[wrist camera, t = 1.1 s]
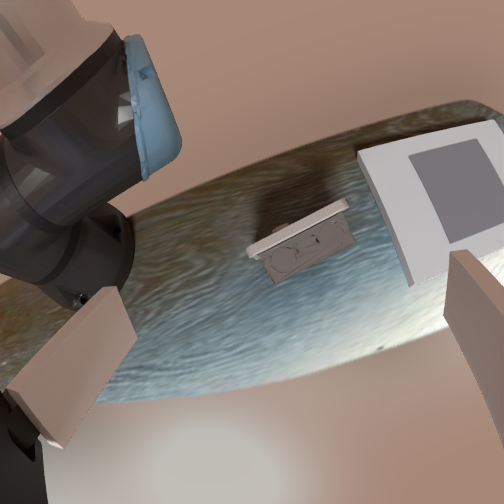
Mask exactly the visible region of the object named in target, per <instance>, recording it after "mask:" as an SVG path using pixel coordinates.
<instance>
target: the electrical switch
mask: <svg viewBox="0 0 504 504" xmlns="http://www.w3.org/2000/svg"><path fill="white" fill-rule="evenodd" d="M348 207H349V206H348V204H347V203H346V201H345V199H344V198H343V199H340V200H338V201H335V202H333V203H332V204H330V205H328V206H326V207H324V208H322V209H320V210H318V211H316V212H314V213H312V214H310V215H308V216H306V217H304V218H302V219H300V220H298V221H296V222H294V223H292V224H291V225H289V224H288V223H285V224H283V225H280V226H278V227H276V228H275V229H274V230H272V232H273V234H271V235H269V236H267V237H265V238H264V239H262V240H260V241H258V242H256V243H254V244H252V245H251V246H249V247H248V248H246V251H247V253H248V256H249V258H251V257H253V258H254V259H255V260H258V259H261V261H262V263H263V265H264V267H265V269H266V271H267V272H268V274H269V276H270V277H271V279H272V281H273V282H274V284H277V283H278V282H280V281H282V280H284V279H286V278H288V277H290V276H292V275H294V274H296V273H298V272H300V271H302V270H304V269H306V268H307V267H309V266H311V265H313V264H315V263H317V262H319V261H321V260H323V259H325V258H326V257H328V256H330V255H332V254H334V253H336V252H338V251H340V250H341V249H343V248H345V247H347V246H349V245H351V244H353V243H354V242H356V241H355V239H354V237H353V235H352V234H351V232H350V230H349V227H348V224H347V221H346V220H345V218H344V216H343V213H342V212H343V211H344V210H345V209H347V208H348ZM298 250H299V253H298Z"/></svg>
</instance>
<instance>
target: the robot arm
mask: <svg viewBox="0 0 504 504" xmlns="http://www.w3.org/2000/svg"><path fill="white" fill-rule="evenodd" d="M0 132H1V133H2V134H1V135H0V273H1V274H4V275H7V276H10V277H13V278H15V279H18V280H21V281H24V282H28V283H31V284H34V285H36V286H38V287H39V288H40V289H41V290H42V291H43V292H44V293H46V294H47V295H48V296H49V297H50V298H51V299H53V300H54V301H55V302H56V303H58V304H59V305H60V306H62V307H64V308H66V309H69V310H74V311H78V312H77V313H76V314H75V315H74V316H73V317H72V318H71V319H70V320H69V321H68V322H67V323H66V324H65V325H64V326H63V327H62V328H61V329H60V330H59V331H58V332H57V333H56V334H55V335H54V336H53V337H52V338H51V339H50V340H49V341H48V342H47V343H46V344H45V345H44V346H43V347H42V348H41V349H40V350H39V351H38V353H37V354H36V355H35V356H34V357H33V358H32V359H31V360H30V361H29V362H28V363H27V364H26V365H25V367H24V368H23V369H22V370H21V371H20V372H19V373H18V374H17V375H16V376H15V378H14V379H13V380H12V381H11V382H10V383H9V384H8V385H7V387H6V390H5V391H4V392H3V393H1V391H0V504H48V500H47V493H46V484H45V476H44V466H43V453H42V445H41V442H40V441H39V440H38V436H39V435H40V433H41V435H42V436H43V437H44V438H45V439H46V440H47V441H48V443H49V444H51V445H53V446H56V447H58V448H61V449H64V448H65V447H66V445H67V443H68V442H69V441H70V439H71V437H72V436H73V434H74V433H75V431H76V430H77V428H78V427H79V425H80V423H81V422H82V420H83V419H84V417H85V416H86V414H87V413H88V411H89V410H90V408H91V407H92V405H93V404H94V402H95V401H96V399H97V398H98V396H99V395H100V393H101V392H102V390H103V389H104V387H105V386H106V384H107V383H108V381H109V380H110V378H111V377H112V375H113V374H114V372H115V371H116V369H117V368H118V366H119V365H120V364H121V362H122V361H123V359H124V358H125V356H126V355H127V353H128V352H129V351H130V349H131V348H132V346H133V345H134V343H135V342H136V340H137V339H138V338H137V336H136V333H135V331H134V329H133V327H132V324H131V322H130V319H129V317H128V315H127V312H126V310H125V307H124V305H123V302H122V300H121V297H120V295H119V291H120V290H121V288H122V287H123V285H124V283H125V281H126V279H127V277H128V275H129V272H130V269H131V266H132V262H133V256H134V237H133V232H132V228H131V226H130V223H129V221H128V220H127V218H126V217H125V216H124V214H122V213H121V212H120V211H119V210H117V209H116V208H115V207H114V206H112V205H110V204H109V203H107V202H108V201H109V200H111V199H112V198H114V197H116V196H117V195H119V194H121V193H122V192H124V191H125V190H127V189H128V188H130V187H132V186H133V185H135V184H137V183H138V182H140V181H142V180H143V181H146V180H147V179H148V178H149V176H150V175H151V174H153V173H154V172H156V171H157V170H159V169H160V168H162V167H164V166H165V165H167V164H169V163H170V162H172V161H173V160H174V159H175V158H176V157H177V156H178V154H179V152H180V150H181V147H182V138H181V135H180V132H179V129H178V127H177V124H176V121H175V119H174V116H173V113H172V111H171V108H170V106H169V103H168V101H167V98H166V96H165V93H164V91H163V88H162V86H161V83H160V80H159V78H158V76H157V73H156V70H155V68H154V65H153V63H152V60H151V58H150V55H149V53H148V51H147V48H146V46H145V43H144V41H143V38H142V37H141V36H140V35H138V34H137V35H132V36H130V35H129V36H127V37H125V38H124V40H121V39H120V37H119V36H118V34H117V33H116V31H115V30H114V28H113V27H112V25H111V24H109V23H104V22H96V21H87V20H85V19H84V18H82V17H81V15H80V14H79V12H78V11H77V9H76V8H75V6H74V5H73V3H72V2H71V0H0ZM443 316H444V318H445V319H446V321H447V323H448V325H449V327H450V328H451V330H452V332H453V334H454V336H455V338H456V340H457V342H458V344H459V345H460V348H461V350H462V352H463V354H464V355H465V358H466V360H467V362H468V364H469V366H470V368H471V370H472V372H473V374H474V376H475V379H476V381H477V383H478V385H479V387H480V390H481V392H482V394H483V396H484V399H485V401H486V403H487V406H488V408H489V410H490V413H491V415H492V418H493V420H494V423H495V425H496V428H497V431H498V433H499V436H500V439H501V441H502V444H503V447H504V287H503V286H502V285H501V284H500V283H499V282H498V280H497V279H496V278H495V277H494V276H493V275H492V274H491V273H490V272H489V271H488V270H487V269H486V268H485V267H484V266H483V265H482V264H481V262H480V261H479V260H478V259H477V258H476V257H475V256H474V255H473V254H472V253H471V252H470V251H469V250H468V249H464V250H457V251H450V255H449V269H448V281H447V290H446V299H445V307H444V314H443Z"/></svg>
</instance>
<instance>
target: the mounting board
mask: <svg viewBox="0 0 504 504" xmlns="http://www.w3.org/2000/svg"><path fill="white" fill-rule="evenodd" d="M357 162H358V164H359V166H360V168H361V170H362V172H363V174H364V177H365V179H366V181H367V183H368V185H369V187H370V190H371V192H372V194H373V196H374V198H375V201H376V203H377V205H378V208H379V210H380V212H381V214H382V217H383V219H384V222H385V224H386V226H387V229H388V231H389V234H390V236H391V239H392V241H393V244H394V246H395V249H396V252H397V254H398V257H399V260H400V262H401V265H402V268H403V270H404V273H405V276H406V279H407V282H408V285H409V287H413V286H415V285H418V284H420V283H423V282H426V281H428V280H431V279H433V278H436V277H438V276H441V275H443V274H446V273H448V269H449V255H450V251H457V250H464V249H468V250H469V251H470V252H471V253H472V254H473V255H474V256H475V257H476V258H477V259H478V260H479V259H481V258H484V257H486V256H488V255H491V254H493V253H495V252H497V251H499V250H502V249H504V134H503V133H502V131H501V130H500V128H499V127H498V125H497V124H496V122H495V121H494V120H488V121H483V122H478V123H473V124H468V125H463V126H459V127H454V128H449V129H445V130H440V131H436V132H431V133H427V134H423V135H418V136H414V137H410V138H406V139H402V140H398V141H394V142H390V143H386V144H382V145H378V146H374V147H371V148H367V149H363V150H359V151H358V154H357Z"/></svg>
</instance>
